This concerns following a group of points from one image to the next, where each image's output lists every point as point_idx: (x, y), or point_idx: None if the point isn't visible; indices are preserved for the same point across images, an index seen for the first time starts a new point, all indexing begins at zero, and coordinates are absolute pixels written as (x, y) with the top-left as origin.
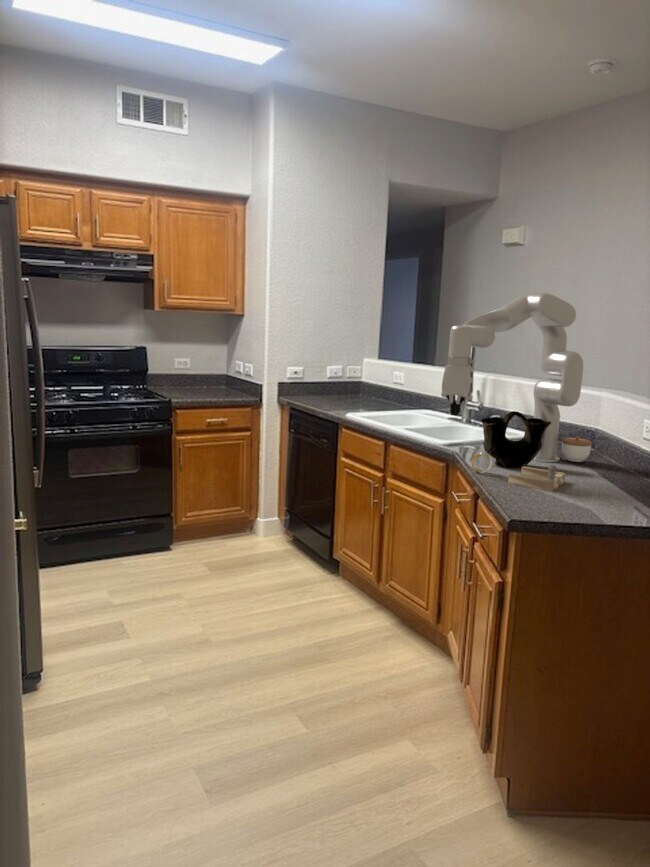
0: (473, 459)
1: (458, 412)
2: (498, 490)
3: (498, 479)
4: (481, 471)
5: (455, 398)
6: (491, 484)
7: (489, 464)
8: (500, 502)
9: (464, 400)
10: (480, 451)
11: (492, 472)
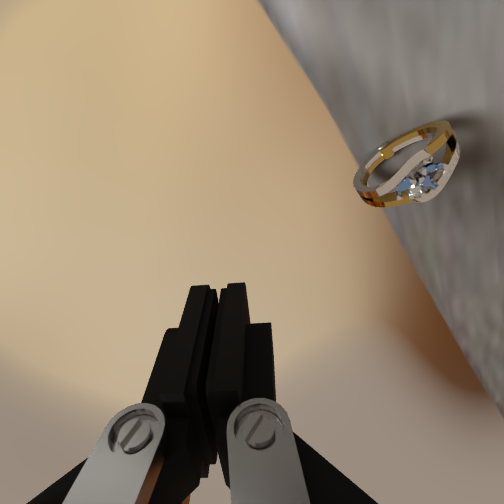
0: (372, 205)
1: (273, 357)
2: (485, 314)
3: (470, 191)
4: (390, 155)
5: (143, 492)
6: (454, 271)
7: (434, 132)
8: (499, 393)
9: (351, 483)
10: (411, 181)
11: (427, 87)
